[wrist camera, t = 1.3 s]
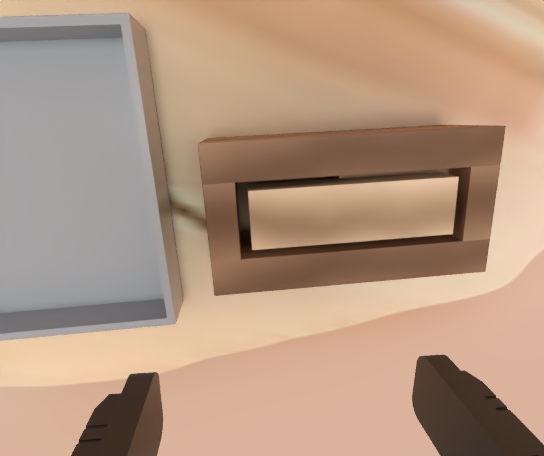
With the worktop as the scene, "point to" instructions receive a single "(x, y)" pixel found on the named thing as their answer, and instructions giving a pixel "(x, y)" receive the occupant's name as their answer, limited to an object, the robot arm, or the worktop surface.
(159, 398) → the robot arm
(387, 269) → the walnut frame
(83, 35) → the slate tray
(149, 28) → the worktop surface
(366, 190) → the maple bar
